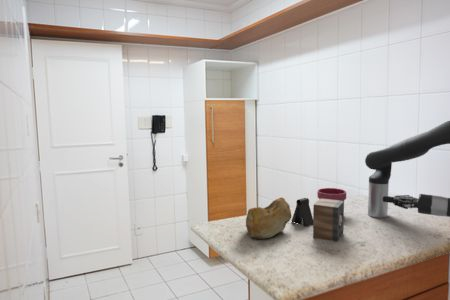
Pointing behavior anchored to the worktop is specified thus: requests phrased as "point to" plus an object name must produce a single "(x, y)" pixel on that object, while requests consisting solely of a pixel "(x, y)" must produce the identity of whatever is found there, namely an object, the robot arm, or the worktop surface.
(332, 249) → the worktop surface
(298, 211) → the phone stand
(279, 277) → the worktop surface
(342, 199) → the plant pot
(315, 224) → the housing
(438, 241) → the worktop surface
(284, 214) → the rough brown rock
